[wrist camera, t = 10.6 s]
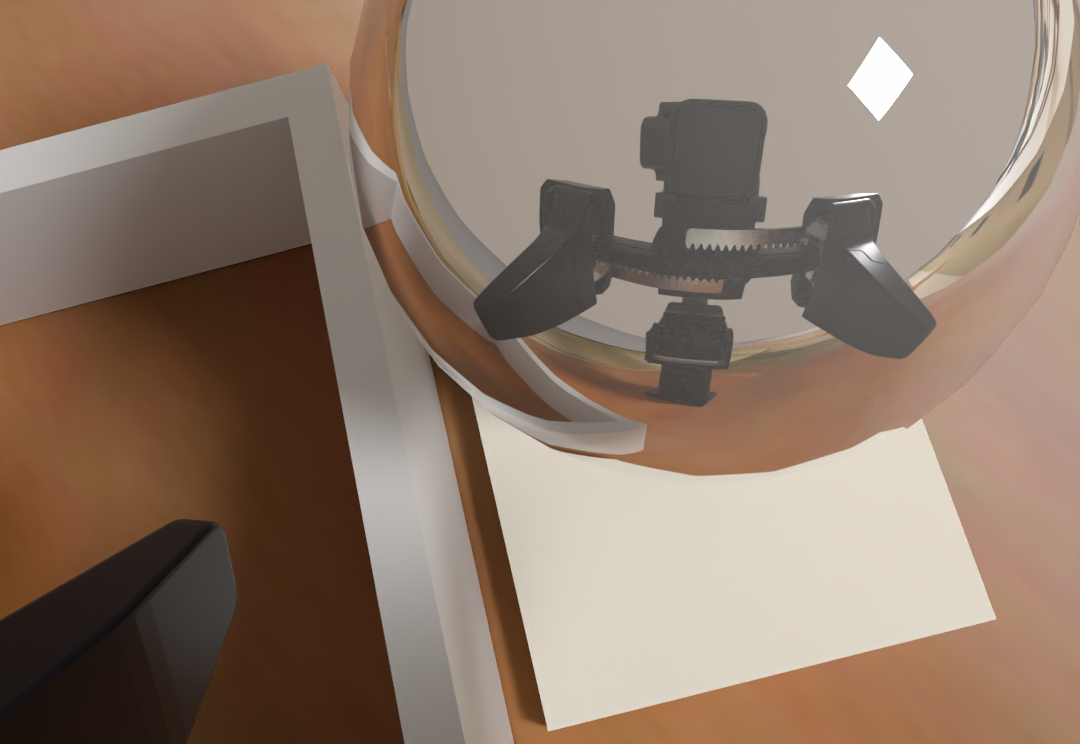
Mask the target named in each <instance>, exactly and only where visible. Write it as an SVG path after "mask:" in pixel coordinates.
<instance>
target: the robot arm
mask: <svg viewBox="0 0 1080 744" xmlns="http://www.w3.org/2000/svg"><path fill="white" fill-rule="evenodd" d="M236 603H237V586H236V581H235V576H234V571H233V566H232V562H231V557H230V552H229V548H228V543H227V538H226V535H225V532H224V530H223V528H222V527H221V526H220V525H219V524H217V523H215V522H209V521H198V520H187V519H181V520H175V521H173V522H171V523H169V524H167V525H165V526H163V527H161V528H160V529H158V530H156V531H154V532H153V533H151V534H149V535H148V536H146V537H144V538H142V539H141V540H139V541H137V542H135V543H134V544H132V545H130V546H128V547H127V548H125V549H123V550H121V551H120V552H118V553H116V554H114V555H113V556H111V557H109V558H107V559H106V560H104V561H102V562H100V563H99V564H97V565H95V566H93V567H92V568H90V569H88V570H87V571H85V572H83V573H81V574H80V575H78V576H76V577H74V578H73V579H71V580H69V581H67V582H66V583H64V584H62V585H60V586H59V587H57V588H55V589H53V590H52V591H50V592H48V593H46V594H45V595H43V596H41V597H39V598H38V599H36V600H34V601H33V602H31V603H29V604H27V605H26V606H24V607H22V608H20V609H19V610H17V611H15V612H13V613H12V614H10V615H8V616H6V617H5V618H3V619H1V620H0V744H186V742H187V740H188V737H189V735H190V732H191V729H192V727H193V724H194V721H195V718H196V716H197V713H198V710H199V708H200V705H201V702H202V699H203V697H204V694H205V691H206V689H207V686H208V683H209V681H210V678H211V675H212V672H213V670H214V667H215V664H216V662H217V659H218V656H219V653H220V651H221V648H222V645H223V643H224V640H225V637H226V634H227V632H228V629H229V626H230V624H231V621H232V618H233V615H234V612H235V608H236Z"/></svg>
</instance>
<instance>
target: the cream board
mask: <svg viewBox="0 0 1080 744" xmlns="http://www.w3.org/2000/svg"><path fill="white" fill-rule="evenodd" d="M472 400H473V405H474V409H475V413H476V418H477V422H478V427H479V431H480V435H481V440H482V444H483V448H484V453H485V457H486V462H487V466H488V470H489V475H490V479H491V483H492V488H493V492H494V497H495V501H496V505H497V510H498V514H499V518H500V523H501V527H502V532H503V536H504V540H505V545H506V549H507V553H508V558H509V562H510V567H511V571H512V575H513V580H514V584H515V588H516V593H517V597H518V602H519V606H520V610H521V615H522V619H523V623H524V628H525V632H526V637H527V641H528V645H529V650H530V654H531V658H532V663H533V667H534V672H535V676H536V680H537V685H538V689H539V693H540V698H541V702H542V707H543V711H544V715H545V720H546V724H547V728H548V731H552V730H556V729H560V728H564V727H568V726H572V725H576V724H580V723H584V722H588V721H592V720H596V719H600V718H604V717H608V716H612V715H616V714H620V713H624V712H628V711H632V710H636V709H640V708H644V707H648V706H652V705H656V704H660V703H664V702H668V701H672V700H676V699H680V698H684V697H688V696H692V695H696V694H700V693H704V692H708V691H712V690H716V689H720V688H724V687H728V686H731V685H735V684H739V683H743V682H747V681H751V680H755V679H759V678H763V677H767V676H771V675H775V674H779V673H783V672H787V671H791V670H795V669H799V668H803V667H807V666H811V665H815V664H819V663H823V662H827V661H831V660H835V659H839V658H843V657H847V656H851V655H855V654H859V653H863V652H867V651H871V650H875V649H879V648H883V647H887V646H891V645H895V644H899V643H903V642H907V641H911V640H915V639H919V638H923V637H927V636H931V635H935V634H939V633H943V632H947V631H951V630H955V629H959V628H963V627H967V626H971V625H975V624H979V623H983V622H987V621H991V620H995V619H996V617H995V614H994V611H993V609H992V606H991V603H990V601H989V598H988V595H987V592H986V590H985V587H984V584H983V582H982V579H981V576H980V574H979V571H978V568H977V566H976V563H975V560H974V558H973V555H972V552H971V549H970V547H969V544H968V541H967V539H966V536H965V533H964V531H963V528H962V525H961V523H960V520H959V517H958V515H957V512H956V509H955V506H954V504H953V501H952V498H951V496H950V493H949V490H948V488H947V485H946V482H945V480H944V477H943V474H942V472H941V469H940V466H939V463H938V461H937V458H936V455H935V453H934V450H933V447H932V445H931V442H930V439H929V437H928V434H927V431H926V429H925V426H924V423H923V420H922V418H921V419H920V420H919V421H917V422H916V423H915V424H913V425H912V426H911V427H909V428H907V429H905V430H903V431H901V432H899V433H897V434H895V435H893V436H891V437H889V438H887V439H884V440H882V441H880V442H878V443H876V444H874V445H872V446H870V447H868V448H866V449H864V450H862V451H860V452H858V453H855V454H853V455H851V456H849V457H847V458H845V459H843V460H840V461H836V462H832V463H829V464H825V465H822V466H818V467H814V468H810V469H806V470H802V471H798V472H794V473H790V474H786V475H782V476H778V477H774V478H770V479H766V480H763V481H759V482H747V483H728V484H709V485H690V486H688V485H680V484H673V483H666V482H659V481H652V480H645V479H638V478H631V477H624V476H619V475H616V474H614V473H611V472H608V471H605V470H602V469H599V468H596V467H593V466H591V465H588V464H585V463H582V462H579V461H576V460H573V459H570V458H568V457H565V456H562V455H559V454H557V453H555V452H554V451H552V450H550V449H548V448H547V447H545V446H543V445H542V444H540V443H538V442H537V441H535V440H533V439H531V438H530V437H528V436H526V435H525V434H523V433H521V432H519V431H518V430H516V429H514V428H513V427H511V426H509V425H508V424H506V423H504V422H502V421H501V420H500V419H498V418H497V417H496V416H494V415H493V414H491V413H490V412H489V411H488V410H486V409H485V408H484V407H483V406H482V405H481V404H480V403H479V402H478V401H476V400H475V399H474V398H473V397H472Z"/></svg>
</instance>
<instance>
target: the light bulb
mask: <svg viewBox="0 0 1080 744" xmlns="http://www.w3.org/2000/svg"><path fill="white" fill-rule="evenodd" d="M349 164H350V169H351V174H352V179H353V184H354V189H355V194H356V199H357V203H358V208H359V213H360V218H361V223H362V227H363V229H364V232H365V234H366V236H367V239H368V241H369V244H370V246H371V249H372V251H373V253H374V256H375V258H376V260H377V263H378V265H379V267H380V269H381V272H382V274H383V276H384V279H385V281H386V283H387V285H388V288H389V290H390V292H391V294H392V297H393V299H394V301H395V303H396V306H397V308H398V310H399V312H400V314H401V316H402V317H403V318H404V320H405V321H406V322H407V324H408V325H409V327H410V328H411V329H412V331H413V332H414V333H415V335H416V336H417V338H418V339H419V340H420V342H421V343H422V344H423V346H424V347H425V348H426V350H427V351H428V353H429V354H430V355H431V357H432V358H433V359H434V361H435V362H436V364H437V365H438V366H439V367H440V368H441V369H442V370H443V371H444V372H445V373H446V374H448V375H449V376H450V377H451V378H452V379H453V380H454V381H455V382H456V383H458V384H459V385H460V386H461V387H462V388H463V389H464V390H465V391H466V392H468V393H469V394H470V395H471V396H472V397H473V398H474V399H475V400H476V401H478V402H479V403H480V404H481V405H482V406H483V407H484V408H485V409H486V410H488V411H489V412H490V413H491V414H493V415H494V416H496V417H497V418H498V419H500V420H501V421H502V422H504V423H506V424H508V425H509V426H511V427H513V428H514V429H516V430H518V431H519V432H521V433H523V434H525V435H526V436H528V437H530V438H531V439H533V440H535V441H537V442H538V443H540V444H542V445H543V446H545V447H547V448H548V449H550V450H552V451H554V452H555V453H557V454H559V455H562V456H565V457H568V458H570V459H573V460H576V461H579V462H582V463H585V464H588V465H591V466H593V467H596V468H599V469H602V470H605V471H608V472H611V473H614V474H616V475H619V476H624V477H631V478H638V479H645V480H652V481H659V482H666V483H673V484H680V485H688V486H690V485H709V484H728V483H747V482H759V481H763V480H766V479H770V478H774V477H778V476H782V475H786V474H790V473H794V472H798V471H802V470H806V469H810V468H814V467H818V466H822V465H825V464H829V463H832V462H836V461H840V460H843V459H845V458H847V457H849V456H851V455H853V454H855V453H858V452H860V451H862V450H864V449H866V448H868V447H870V446H872V445H874V444H876V443H878V442H880V441H882V440H884V439H887V438H889V437H891V436H893V435H895V434H897V433H899V432H901V431H903V430H905V429H907V428H909V427H911V426H912V425H913V424H915V423H916V422H917V421H919V420H920V419H921V418H922V417H924V416H925V415H926V414H928V413H929V412H930V411H931V410H933V409H934V408H935V407H937V406H938V405H939V404H941V403H942V402H943V401H944V400H946V399H947V398H948V397H950V396H951V395H952V394H953V393H955V392H956V391H957V390H959V389H960V388H961V387H963V386H964V385H965V384H966V383H967V382H968V381H969V380H970V379H971V378H972V377H973V376H974V375H975V374H976V373H977V372H978V371H979V370H980V369H981V367H982V366H983V365H984V364H985V363H986V362H987V361H988V360H989V359H990V358H991V357H992V356H993V354H994V353H995V352H996V351H997V350H998V348H999V347H1000V346H1001V345H1002V344H1003V342H1004V341H1005V340H1006V339H1007V338H1008V336H1009V335H1010V334H1011V333H1012V332H1013V331H1014V329H1015V328H1016V327H1017V326H1018V325H1019V323H1020V322H1021V321H1022V320H1023V319H1024V317H1025V316H1026V315H1027V314H1028V313H1029V311H1030V310H1031V309H1032V308H1033V307H1034V305H1035V304H1036V303H1037V302H1038V301H1039V299H1040V297H1041V295H1042V293H1043V291H1044V289H1045V287H1046V285H1047V283H1048V281H1049V279H1050V277H1051V275H1052V273H1053V271H1054V269H1055V267H1056V265H1057V263H1058V261H1059V259H1060V257H1061V255H1062V253H1063V252H1064V250H1065V248H1066V246H1067V244H1068V242H1069V240H1070V238H1071V235H1072V232H1073V230H1074V227H1075V224H1076V221H1077V219H1078V216H1079V213H1080V0H365V1H364V5H363V9H362V13H361V17H360V22H359V26H358V30H357V34H356V39H355V43H354V47H353V51H352V56H351V60H350V107H349Z"/></svg>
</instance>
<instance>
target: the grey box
mask: <svg viewBox="0 0 1080 744" xmlns="http://www.w3.org/2000/svg"><path fill="white" fill-rule="evenodd" d="M349 107H350V106H349V104H348V102H347V100H346V98H345V97H344V95H343V93H342V91H341V89H340V87H339V85H338V83H337V82H336V80H335V78H334V76H333V74H332V72H331V70H330V68H329V67H328V65H327V63H326V64H322V65H318V66H314V67H311V68H307V69H303V70H299V71H296V72H292V73H288V74H284V75H281V76H277V77H273V78H269V79H266V80H262V81H258V82H254V83H251V84H247V85H243V86H239V87H236V88H232V89H228V90H224V91H221V92H217V93H213V94H209V95H206V96H202V97H198V98H194V99H191V100H187V101H183V102H179V103H176V104H172V105H168V106H164V107H161V108H157V109H153V110H149V111H146V112H142V113H138V114H134V115H131V116H127V117H123V118H119V119H116V120H112V121H108V122H104V123H101V124H97V125H93V126H89V127H86V128H82V129H78V130H74V131H71V132H67V133H63V134H59V135H56V136H52V137H48V138H44V139H41V140H37V141H33V142H29V143H26V144H22V145H18V146H14V147H11V148H7V149H3V150H0V325H4V324H8V323H11V322H15V321H19V320H23V319H27V318H30V317H34V316H38V315H42V314H46V313H50V312H53V311H57V310H61V309H65V308H69V307H72V306H76V305H80V304H84V303H88V302H91V301H95V300H99V299H103V298H107V297H110V296H114V295H118V294H122V293H126V292H129V291H133V290H137V289H141V288H145V287H148V286H152V285H156V284H160V283H164V282H167V281H171V280H175V279H179V278H183V277H187V276H190V275H194V274H198V273H202V272H206V271H209V270H213V269H217V268H221V267H225V266H228V265H232V264H236V263H240V262H244V261H247V260H251V259H255V258H259V257H263V256H266V255H270V254H274V253H278V252H282V251H285V250H289V249H293V248H297V247H301V246H305V245H308V244H312V249H313V254H314V259H315V265H316V270H317V275H318V281H319V286H320V292H321V297H322V302H323V308H324V313H325V318H326V324H327V329H328V335H329V340H330V345H331V351H332V356H333V362H334V367H335V372H336V378H337V383H338V388H339V394H340V399H341V405H342V410H343V415H344V421H345V426H346V431H347V437H348V442H349V448H350V453H351V458H352V464H353V469H354V475H355V480H356V485H357V491H358V496H359V501H360V507H361V512H362V518H363V523H364V528H365V534H366V539H367V544H368V550H369V555H370V561H371V566H372V571H373V577H374V582H375V588H376V593H377V598H378V604H379V609H380V614H381V620H382V625H383V631H384V636H385V641H386V647H387V652H388V657H389V663H390V668H391V674H392V679H393V684H394V690H395V695H396V701H397V706H398V711H399V717H400V722H401V727H402V733H403V738H404V744H514V741H513V736H512V732H511V727H510V723H509V718H508V714H507V709H506V704H505V700H504V695H503V691H502V686H501V681H500V677H499V672H498V668H497V663H496V658H495V654H494V649H493V645H492V640H491V635H490V631H489V626H488V622H487V617H486V613H485V608H484V603H483V599H482V594H481V590H480V585H479V580H478V576H477V571H476V567H475V562H474V557H473V553H472V548H471V544H470V539H469V534H468V530H467V525H466V521H465V516H464V512H463V507H462V502H461V498H460V493H459V489H458V484H457V479H456V475H455V470H454V466H453V461H452V456H451V452H450V447H449V443H448V438H447V433H446V429H445V424H444V420H443V415H442V410H441V406H440V401H439V397H438V392H437V388H436V383H435V378H434V374H433V369H432V365H431V360H430V355H429V353H428V351H427V350H426V348H425V347H424V346H423V344H422V343H421V342H420V340H419V339H418V338H417V336H416V335H415V333H414V332H413V331H412V329H411V328H410V327H409V325H408V324H407V322H406V321H405V320H404V318H403V317H402V316H401V314H400V312H399V310H398V308H397V306H396V303H395V301H394V299H393V297H392V294H391V292H390V290H389V288H388V285H387V283H386V281H385V279H384V276H383V274H382V272H381V269H380V267H379V265H378V263H377V260H376V258H375V256H374V253H373V251H372V249H371V246H370V244H369V241H368V239H367V236H366V234H365V232H364V229H363V227H362V223H361V218H360V213H359V208H358V203H357V199H356V194H355V189H354V184H353V179H352V174H351V169H350V164H349Z"/></svg>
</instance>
